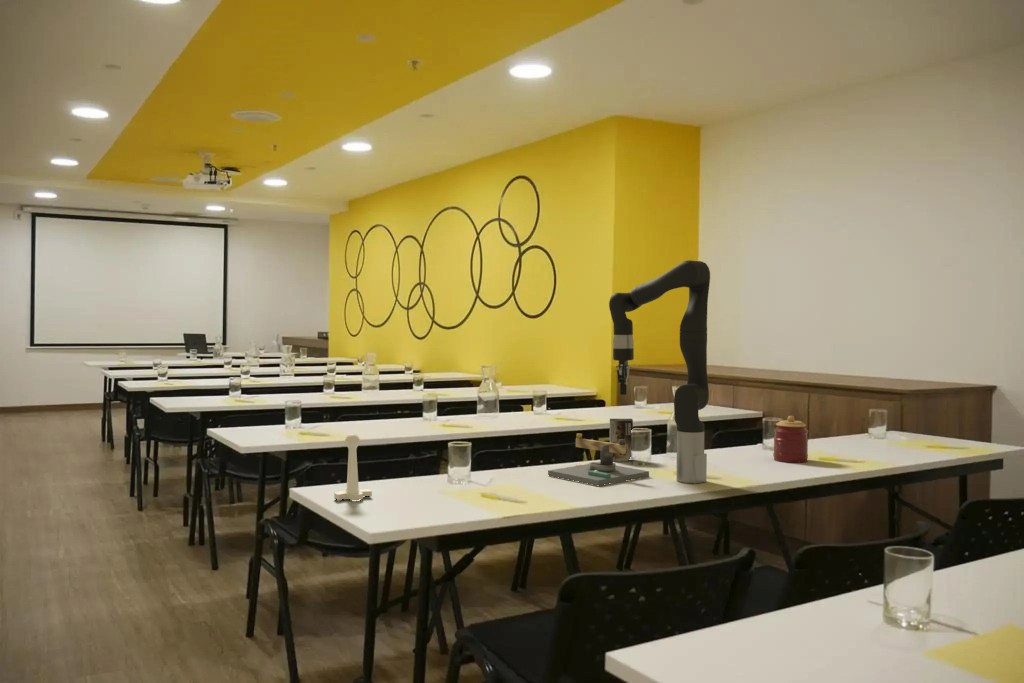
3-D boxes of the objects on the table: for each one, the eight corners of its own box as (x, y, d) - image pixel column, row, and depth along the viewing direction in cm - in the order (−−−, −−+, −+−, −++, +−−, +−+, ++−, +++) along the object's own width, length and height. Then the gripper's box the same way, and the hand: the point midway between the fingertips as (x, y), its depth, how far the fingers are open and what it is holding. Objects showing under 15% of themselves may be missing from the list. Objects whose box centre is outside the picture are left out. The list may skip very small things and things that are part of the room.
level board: (648, 476, 299) (649, 466, 299) (597, 486, 282) (597, 475, 282) (598, 467, 317) (599, 457, 317) (548, 476, 300) (548, 465, 300)
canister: (812, 463, 329) (813, 417, 328) (778, 463, 329) (779, 417, 328) (801, 457, 342) (802, 413, 341) (769, 457, 342) (769, 413, 341)
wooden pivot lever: (632, 471, 297) (632, 438, 297) (615, 474, 291) (616, 441, 290) (585, 463, 313) (585, 432, 313) (568, 466, 307) (568, 434, 306)
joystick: (367, 495, 267) (367, 431, 266) (375, 500, 260) (375, 434, 260) (332, 499, 262) (332, 434, 261) (340, 503, 255) (340, 437, 254)
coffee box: (632, 459, 337) (632, 418, 337) (633, 461, 331) (633, 420, 330) (609, 458, 338) (609, 418, 338) (609, 461, 332) (609, 420, 331)
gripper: (630, 347, 305) (630, 396, 305) (636, 346, 318) (636, 393, 318) (609, 347, 307) (610, 395, 308) (616, 346, 320) (616, 393, 320)
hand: (623, 394), depth 313 cm, fingers closed
